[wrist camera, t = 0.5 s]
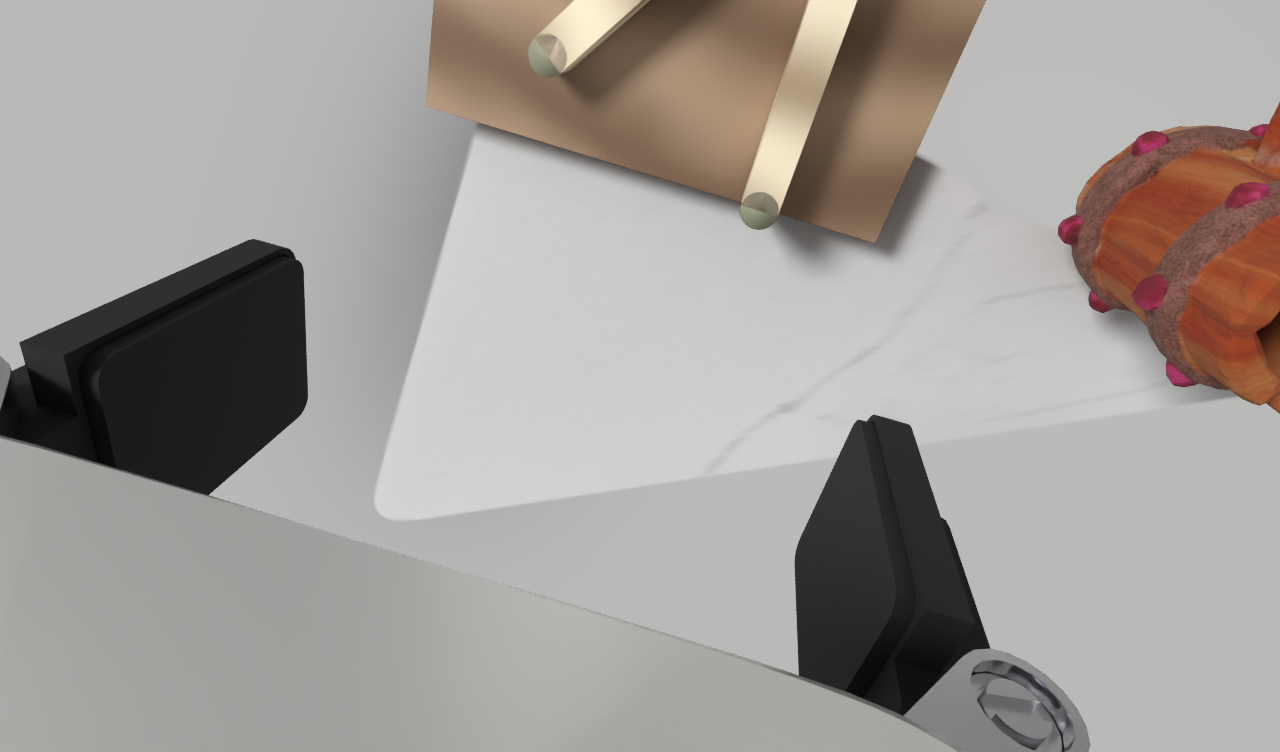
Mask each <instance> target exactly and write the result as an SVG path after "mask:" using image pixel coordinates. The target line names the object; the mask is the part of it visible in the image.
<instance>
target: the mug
mask: <svg viewBox="0 0 1280 752" xmlns="http://www.w3.org/2000/svg"><path fill="white" fill-rule="evenodd" d="M1058 236H1059V237H1060V238H1061V240H1062V241H1063V242H1064V243H1066V244H1069V245H1071V246H1072V255H1073V259H1074V262H1075V265H1076V268H1077V270H1078V271H1079V273H1080V275H1081V276H1082V278H1083V279H1084V281H1085V282H1086V283H1087V285H1088V286H1089V287H1090V288H1091V290H1092V291H1091V292H1090V294H1089V305H1090V306H1091V308H1092V309H1094V310H1096V311H1099V312H1101V313H1104V312H1107V311H1109V310H1111V309H1114V308H1118V309H1122V310H1127V311H1132V312H1133V313H1134V314H1136V315H1137V316H1138V317H1139V318H1140V319H1141V320H1142V321H1143V323H1144V324H1145V325H1146V326H1147V328H1148V331H1149V334H1150V336H1151V338H1152V339H1153V341H1154V343H1155V344H1156V346H1157V347H1158V349H1159V351H1160V352H1161V353H1162V354H1163V355H1164V356H1165V357H1166V358H1167V362H1166V374H1167V377H1168V378H1169V380H1170V381H1171V383H1172V384H1173V385H1174V386H1179V387H1187V386H1193V385H1196V384H1198V383H1200V384H1203V385H1206V386H1210V387H1213V388H1216V389H1222V390H1231V391H1232V392H1234V393H1235V394H1236V395H1238V396H1239V397H1240V398H1242V399H1244V400H1246V401H1248V402H1251V403H1253V404H1256V405H1262V404H1264V403H1266V404H1268V405H1269V406H1270V407H1272V408H1273V409H1274V410H1276V411H1277V412H1278V413H1280V103H1279V105H1278V107H1277V109H1276V111H1275V113H1274V115H1273V117H1272V119H1271V121H1270V123H1269V124H1262V125H1259V126H1255V127H1252V128H1251V129H1250V130H1249V131H1245V130H1238V129H1232V128H1226V127H1220V126H1193V127H1182V126H1179V127H1176V128H1171V129H1168V130H1164V131H1160V132H1157V131H1150V132H1146V133H1144V134H1142V135H1141V136H1139V137H1138V138H1137V139H1136V141H1135V142H1133V143H1132V144H1131V145H1130V146H1128V147H1127V148H1126V149H1125V150H1123V151H1122V152H1121V153H1119V154H1118V155H1116V156H1115V157H1114V158H1112V159H1111V160H1109V161H1108V162H1107V163H1106V164H1104V165H1103V166H1102V167H1101V168H1100V169H1099V170H1098V171H1097V172H1096V173H1095V174H1094V175H1093V176H1092V177H1091V178H1090V179H1089V180H1088V181H1087V183H1086V185H1085V186H1084V188H1083V190H1082V192H1081V193H1080V195H1079V197H1078V200H1077V206H1076V214H1075V215H1073V216H1071V217H1069V218H1067V219H1065V220H1063V221H1062V222H1061V223H1060V225H1059V227H1058Z"/></svg>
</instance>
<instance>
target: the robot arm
mask: <svg viewBox="0 0 1280 752" xmlns="http://www.w3.org/2000/svg"><path fill="white" fill-rule="evenodd" d="M20 346H21V350H22V353H23V357H24V361H25V364H26V365H24V366H22V367H20V368H18V369H15V370H13V371H11V368H10V364H9V363H8V362H6V361H5V360H4V359H3V358H2V357H1V356H0V752H1088V751H1089V747H1090V742H1089V737H1088V732H1087V727H1086V725H1085V723H1084V721H1083V720H1082V717H1081V715H1080V713H1079V712H1078V710H1077V708H1076V707H1075V705H1074V704H1073V703H1072V702H1071V701H1070V699H1069V698H1068V697H1067V695H1066V694H1065V693H1064V691H1063V690H1062V689H1060V688H1059V687H1058V686H1057V685H1056V684H1055V683H1054V682H1053V681H1052V680H1050V678H1049V677H1047V676H1046V675H1045V674H1044V673H1042V672H1041V671H1039V670H1038V669H1036V668H1035V667H1034V666H1032V665H1030V664H1029V663H1028V662H1026V661H1024V660H1022V659H1020V658H1017V657H1015V656H1013V655H1011V654H1009V653H1006V652H1001V651H997V650H993V649H990V646H989V643H988V640H987V637H986V634H985V631H984V628H983V625H982V622H981V619H980V616H979V613H978V610H977V608H976V605H975V601H974V599H973V596H972V593H971V590H970V587H969V584H968V581H967V578H966V575H965V572H964V569H963V566H962V563H961V560H960V557H959V554H958V551H957V548H956V545H955V542H954V539H953V536H952V533H951V531H950V527H949V526H948V524H947V522H946V520H944V519H943V518H941V517H940V514H939V511H938V508H937V504H936V502H935V499H934V495H933V492H932V489H931V486H930V483H929V480H928V477H927V474H926V471H925V468H924V465H923V462H922V459H921V456H920V453H919V450H918V446H917V443H916V440H915V437H914V434H913V431H912V428H911V426H910V425H909V424H905V423H902V422H898V421H895V420H891V419H888V418H884V417H881V416H877V415H872V416H871V417H870V418H869V419H868V421H867V422H866V421H862V420H857V421H856V422H855V424H854V425H853V427H852V429H851V431H850V433H849V435H848V438H847V440H846V442H845V444H844V446H843V448H842V450H841V452H840V455H839V457H838V459H837V461H836V463H835V465H834V468H833V470H832V472H831V474H830V476H829V478H828V480H827V482H826V484H825V487H824V489H823V491H822V493H821V495H820V497H819V500H818V501H817V504H816V506H815V508H814V510H813V512H812V514H811V516H810V519H809V521H808V523H807V525H806V527H805V529H804V531H803V533H802V536H801V538H800V540H799V542H798V546H797V549H796V554H795V584H796V608H797V609H796V611H797V636H798V660H799V661H798V663H799V676H798V675H795V674H792V673H790V672H787V671H784V670H780V669H778V668H774V667H772V666H769V665H766V664H763V663H760V662H757V661H754V660H751V659H747V658H744V657H741V656H738V655H735V654H732V653H728V652H725V651H722V650H718V649H715V648H712V647H709V646H705V645H702V644H699V643H695V642H692V641H689V640H686V639H683V638H679V637H676V636H673V635H669V634H666V633H663V632H660V631H656V630H653V629H650V628H647V627H643V626H640V625H637V624H634V623H630V622H627V621H623V620H620V619H617V618H614V617H611V616H607V615H604V614H601V613H597V612H594V611H591V610H588V609H585V608H581V607H578V606H575V605H571V604H568V603H565V602H562V601H558V600H555V599H552V598H548V597H545V596H542V595H538V594H535V593H532V592H528V591H525V590H522V589H518V588H515V587H512V586H508V585H504V584H502V583H498V582H495V581H492V580H488V579H485V578H482V577H478V576H475V575H471V574H468V573H465V572H462V571H458V570H455V569H452V568H448V567H445V566H442V565H438V564H435V563H432V562H428V561H425V560H421V559H418V558H415V557H412V556H408V555H405V554H401V553H398V552H395V551H391V550H388V549H385V548H382V547H378V546H375V545H372V544H368V543H365V542H362V541H358V540H355V539H352V538H348V537H345V536H342V535H338V534H335V533H332V532H328V531H325V530H322V529H318V528H315V527H312V526H308V525H305V524H302V523H299V522H295V521H292V520H288V519H285V518H282V517H278V516H275V515H272V514H269V513H265V512H262V511H258V510H255V509H252V508H248V507H245V506H242V505H239V504H235V503H231V502H229V501H225V500H222V499H219V498H215V497H211V496H209V494H210V493H211V492H213V491H214V490H215V489H216V488H217V487H218V486H219V485H221V484H222V483H223V482H224V481H225V480H226V479H227V478H228V477H230V476H231V475H232V474H233V473H234V472H236V471H237V470H238V469H239V468H240V467H241V466H243V465H244V464H245V463H246V462H247V461H248V460H249V459H251V458H252V457H253V456H254V455H255V454H256V453H258V451H260V450H261V449H262V448H263V447H265V445H267V444H268V443H269V442H270V441H271V440H273V439H274V438H275V437H276V436H277V435H278V434H279V433H281V432H282V431H283V430H284V429H285V428H286V427H287V426H289V425H290V424H291V423H292V422H293V421H295V420H296V419H297V418H298V417H299V416H300V415H301V414H302V412H303V410H304V408H305V406H306V403H307V399H308V385H307V358H306V357H307V356H306V328H305V298H304V271H303V266H302V264H301V263H300V262H299V261H298V260H296V258H295V256H294V254H293V252H292V251H291V250H290V249H288V248H284V247H281V246H277V245H274V244H270V243H266V242H263V241H260V240H255V239H252V240H248V241H245V242H243V243H241V244H239V245H237V246H234V247H232V248H230V249H228V250H225V251H223V252H221V253H219V254H217V255H214V256H212V257H210V258H207V259H205V260H203V261H201V262H199V263H196V264H194V265H192V266H189V267H188V268H185V269H183V270H181V271H178V272H176V273H174V274H172V275H169V276H167V277H165V278H163V279H160V280H158V281H156V282H154V283H151V284H149V285H147V286H145V287H142V288H140V289H138V290H136V291H133V292H132V293H129V294H127V295H125V296H123V297H120V298H118V299H116V300H113V301H111V302H109V303H107V304H104V305H102V306H100V307H98V308H95V309H94V310H91V311H89V312H87V313H84V314H82V315H80V316H78V317H75V318H73V319H71V320H69V321H66V322H64V323H62V324H60V325H57V326H55V327H53V328H51V329H48V330H46V331H44V332H42V333H39V334H37V335H35V336H33V337H31V338H28V339H26V340H24V341H21V342H20Z"/></svg>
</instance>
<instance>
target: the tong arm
mask: <svg viewBox="0 0 1280 752" xmlns="http://www.w3.org/2000/svg"><path fill="white" fill-rule="evenodd" d="M648 1H650V0H574V1H573V2H572V3H571V4H570V5H569V6H568V7H567V8H566V9H565V10H564V11H562V12H561V13H560V14H559V15H558V16H557V17H556V18H555V19H554V20H553V21H552V22H551V23H550V24H549V25H548V26H547V27H546V28H545V29H544V30H542V31H541V32H540V33H539V34H538V35H537V36H536V37H535V38H534V39H533V40H532V42H531V44H530V46H529V50H528V57H529V62H530V64H531V66H532V68H533V69H534V71H535V72H536V73H538V74H539V75H541V76H543V77H546V78H552V77H555V76H558V75H561V74H563V73H566V72H569V71H571V70H572V69H573V68H574V67H576V66H577V65H578V64H579V63H580V62H581V61H582V60H583V59H584V58H586V57H587V56H588V55H589V54H590V53H591V52H592V51H593V50H595V49H596V48H597V47H598V46H599V45H600V44H601V43H602V42H604V41H605V40H606V39H607V38H608V37H609V36H610V35H611V34H613V33H614V32H615V31H616V30H617V29H618V28H619V27H620V26H622V25H623V24H624V23H625V22H626V21H627V20H628V19H629V18H630V17H632V16H633V15H634V14H635V13H636V12H637V11H638V10H639V9H641V8H642V7H643V6H644V5H645V4H646V3H647V2H648Z"/></svg>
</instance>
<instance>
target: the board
mask: <svg viewBox="0 0 1280 752" xmlns="http://www.w3.org/2000/svg"><path fill="white" fill-rule="evenodd" d="M573 1H574V0H434V5H433V19H432V31H431V45H430V57H429V71H428V84H427V97H426V107H430V108H433V109H436V110H439V111H443V112H446V113H449V114H453V115H456V116H459V117H462V118H466V119H469V120H472V121H476V122H479V123H482V124H485V125H489V126H492V127H495V128H499V129H502V130H505V131H508V132H512V133H515V134H518V135H522V136H525V137H528V138H531V139H535V140H538V141H541V142H545V143H548V144H551V145H554V146H558V147H561V148H564V149H568V150H571V151H574V152H577V153H581V154H584V155H587V156H591V157H594V158H597V159H600V160H604V161H607V162H610V163H614V164H617V165H620V166H623V167H627V168H630V169H633V170H637V171H640V172H643V173H646V174H650V175H653V176H656V177H660V178H663V179H666V180H669V181H673V182H676V183H679V184H683V185H686V186H689V187H692V188H696V189H699V190H702V191H706V192H709V193H712V194H715V195H719V196H722V197H725V198H729V199H732V200H735V201H738V202H742V197H743V193H744V190H745V187H746V184H747V181H748V178H749V175H750V172H751V169H752V166H753V163H754V160H755V157H756V154H757V151H758V148H759V145H760V142H761V139H762V136H763V133H764V130H765V127H766V124H767V121H768V118H769V115H770V112H771V109H772V106H773V103H774V100H775V97H776V94H777V91H778V88H779V85H780V82H781V79H782V76H783V73H784V70H785V67H786V64H787V61H788V58H789V55H790V52H791V49H792V46H793V43H794V40H795V37H796V34H797V31H798V29H799V26H800V23H801V20H802V17H803V14H804V11H805V8H806V5H807V2H808V0H650V1H648V2H647V3H646V4H645V5H644V6H643V7H642V8H641V9H639V10H638V11H637V12H636V13H635V14H634V15H633V16H632V17H630V18H629V19H628V20H627V21H626V22H625V23H624V24H623V25H622V26H620V27H619V28H618V29H617V30H616V31H615V32H614V33H613V34H611V35H610V36H609V37H608V38H607V39H606V40H605V41H604V42H602V43H601V44H600V45H599V46H598V47H597V48H596V49H595V50H593V51H592V52H591V53H590V54H589V55H588V56H587V57H586V58H584V59H583V60H582V61H581V62H580V63H579V64H578V65H577V66H576V67H574V68H573V69H572V70H571V71H569V72H566V73H563V74H561V75H558V76H555V77H552V78H546V77H543V76H541V75H539V74H538V73H536V72H535V71H534V69H533V68H532V66H531V64H530V62H529V57H528V50H529V46H530V44H531V42H532V40H533V39H534V38H535V37H536V36H537V35H538V34H539V33H540V32H541V31H542V30H544V29H545V28H546V27H547V26H548V25H549V24H550V23H551V22H552V21H553V20H554V19H555V18H556V17H557V16H558V15H559V14H560V13H561V12H562V11H564V10H565V9H566V8H567V7H568V6H569V5H570V4H571V3H572V2H573ZM985 1H986V0H857V2H856V5H855V8H854V11H853V13H852V16H851V19H850V21H849V24H848V27H847V30H846V32H845V35H844V38H843V40H842V43H841V46H840V49H839V51H838V54H837V57H836V59H835V62H834V65H833V68H832V70H831V73H830V76H829V78H828V81H827V84H826V87H825V89H824V92H823V95H822V97H821V100H820V103H819V106H818V108H817V111H816V114H815V116H814V119H813V122H812V125H811V127H810V130H809V133H808V135H807V138H806V141H805V144H804V146H803V149H802V152H801V154H800V157H799V160H798V163H797V165H796V168H795V171H794V173H793V176H792V179H791V182H790V184H789V187H788V190H787V192H786V195H785V198H784V201H783V203H782V206H781V209H780V211H779V214H781V215H784V216H788V217H791V218H794V219H798V220H801V221H804V222H807V223H811V224H814V225H817V226H821V227H824V228H827V229H830V230H834V231H837V232H840V233H844V234H847V235H850V236H853V237H857V238H860V239H863V240H867V241H870V242H873V243H875V242H876V240H877V238H878V235H879V233H880V231H881V229H882V227H883V224H884V222H885V220H886V218H887V216H888V214H889V211H890V209H891V207H892V205H893V203H894V200H895V198H896V196H897V194H898V192H899V189H900V187H901V185H902V183H903V181H904V179H905V176H906V174H907V172H908V170H909V168H910V165H911V163H912V161H913V159H914V157H915V154H916V152H917V150H918V148H919V146H920V144H921V141H922V139H923V137H924V134H925V132H926V130H927V128H928V126H929V124H930V122H931V119H932V117H933V115H934V113H935V111H936V108H937V106H938V104H939V102H940V100H941V98H942V95H943V93H944V91H945V89H946V87H947V85H948V82H949V80H950V78H951V76H952V73H953V71H954V69H955V67H956V65H957V63H958V60H959V58H960V56H961V54H962V51H963V50H964V47H965V45H966V43H967V41H968V39H969V36H970V34H971V32H972V30H973V28H974V25H975V23H976V21H977V19H978V16H979V15H980V12H981V10H982V8H983V6H984V4H985Z"/></svg>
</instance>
